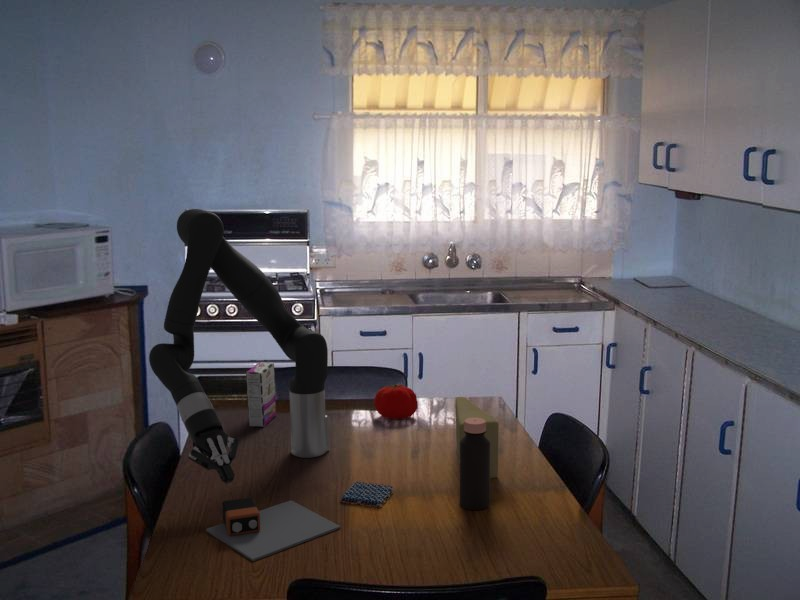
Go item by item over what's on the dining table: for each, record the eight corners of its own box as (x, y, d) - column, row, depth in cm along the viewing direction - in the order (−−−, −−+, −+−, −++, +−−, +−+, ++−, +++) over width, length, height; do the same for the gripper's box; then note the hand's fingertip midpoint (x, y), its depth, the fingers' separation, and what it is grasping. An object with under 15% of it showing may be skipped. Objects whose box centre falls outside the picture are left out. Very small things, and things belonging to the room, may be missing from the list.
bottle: (469, 513, 201) (470, 427, 197) (453, 502, 207) (454, 418, 203) (495, 507, 204) (496, 422, 200) (479, 496, 210) (479, 414, 206)
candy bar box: (261, 414, 271) (258, 361, 267) (277, 415, 270) (275, 362, 266) (247, 426, 260) (245, 371, 257) (264, 427, 259) (261, 372, 256)
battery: (221, 500, 197) (228, 519, 188) (252, 496, 199) (260, 514, 190) (222, 519, 198) (229, 538, 189) (253, 514, 200) (261, 533, 191)
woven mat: (396, 492, 214) (396, 484, 214) (381, 510, 204) (381, 502, 204) (355, 487, 217) (354, 479, 217) (338, 505, 207) (338, 496, 207)
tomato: (417, 423, 262) (417, 389, 260) (373, 423, 262) (373, 389, 260) (417, 411, 273) (417, 378, 271) (375, 411, 273) (374, 378, 271)
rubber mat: (291, 502, 208) (290, 500, 208) (340, 528, 194) (340, 526, 194) (206, 531, 194) (205, 528, 194) (252, 561, 180) (252, 559, 180)
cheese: (441, 449, 241) (441, 395, 238) (476, 447, 242) (477, 393, 239) (460, 481, 219) (460, 422, 216) (498, 478, 221) (499, 420, 218)
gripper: (177, 414, 202) (209, 481, 195) (229, 401, 210) (261, 465, 204) (168, 431, 207) (198, 497, 200) (218, 418, 215) (249, 481, 209)
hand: (230, 481), depth 202 cm, fingers closed
